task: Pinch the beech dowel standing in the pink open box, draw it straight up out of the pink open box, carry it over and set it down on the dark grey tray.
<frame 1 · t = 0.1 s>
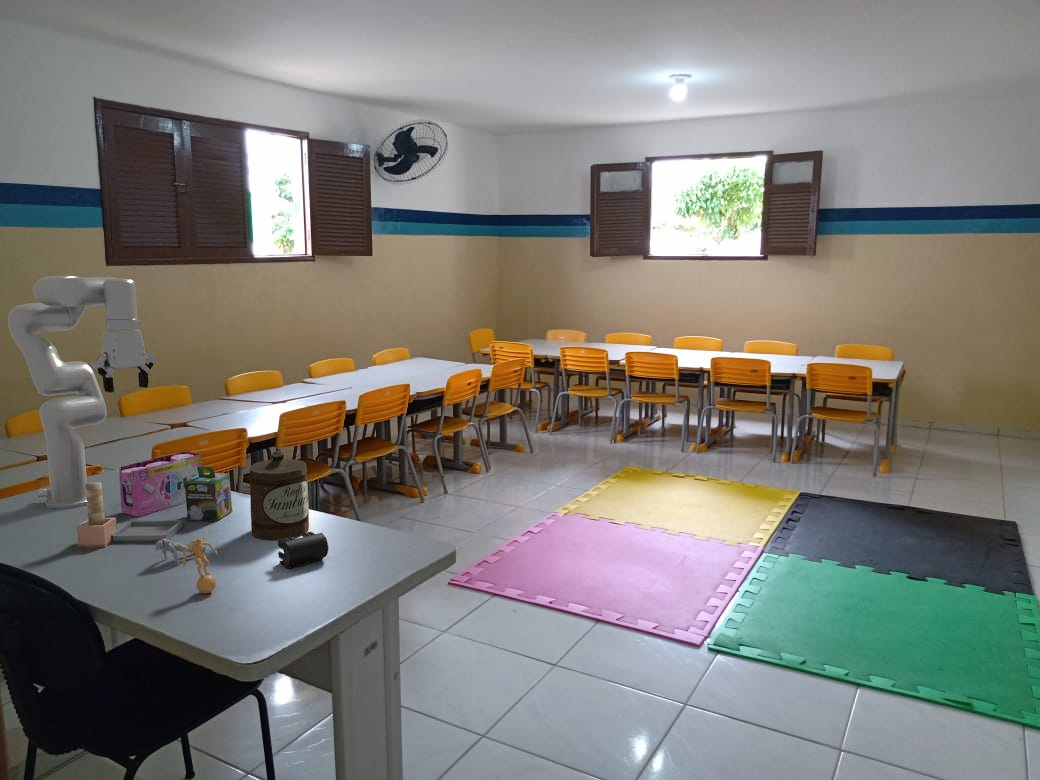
hand: (126, 389, 208), 37 cm above the table, tool pointing down, fingers open, 9 cm apart
end cap: (303, 564, 187), on the table
soldier figurine: (181, 560, 188), on the table
gum box: (164, 505, 231), on the table
tray: (148, 534, 205), on the table
wooden container: (280, 531, 209), on the table
dowel: (98, 540, 199), point 1 cm above the table, touching pink open box
chalk box: (209, 516, 221), on the table
figurine: (203, 592, 170), on the table
pink open box: (98, 542, 199), on the table
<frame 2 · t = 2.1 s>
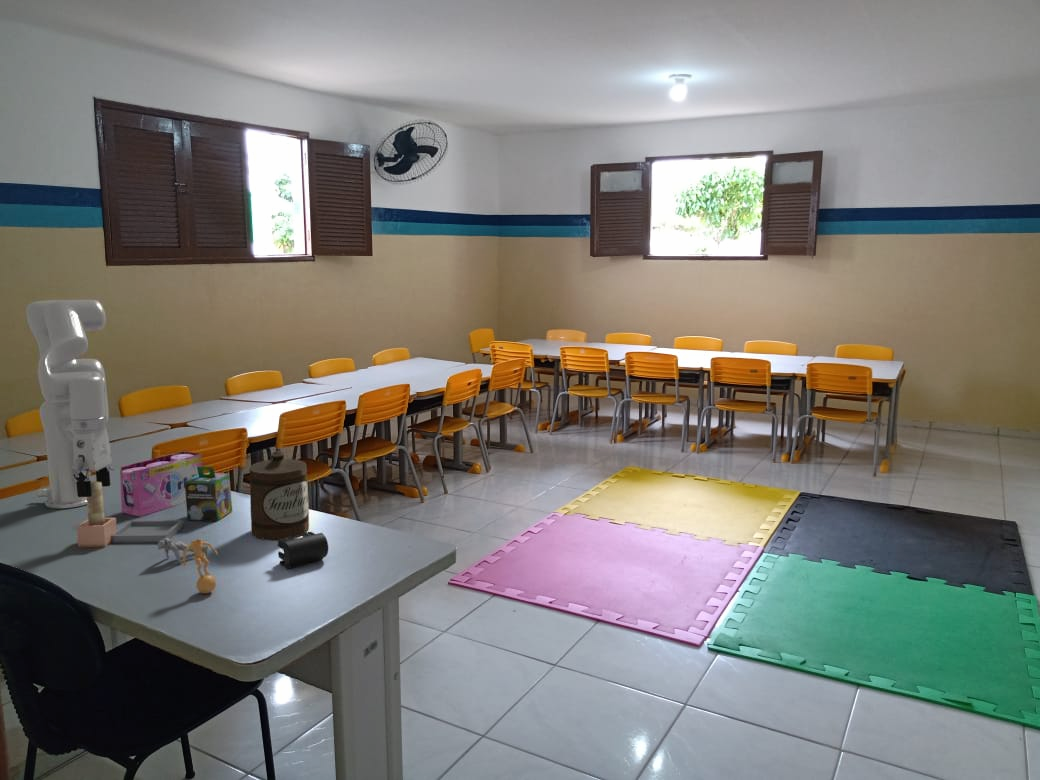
hand: (94, 491, 196), 14 cm above the table, tool pointing down, fingers open, 9 cm apart
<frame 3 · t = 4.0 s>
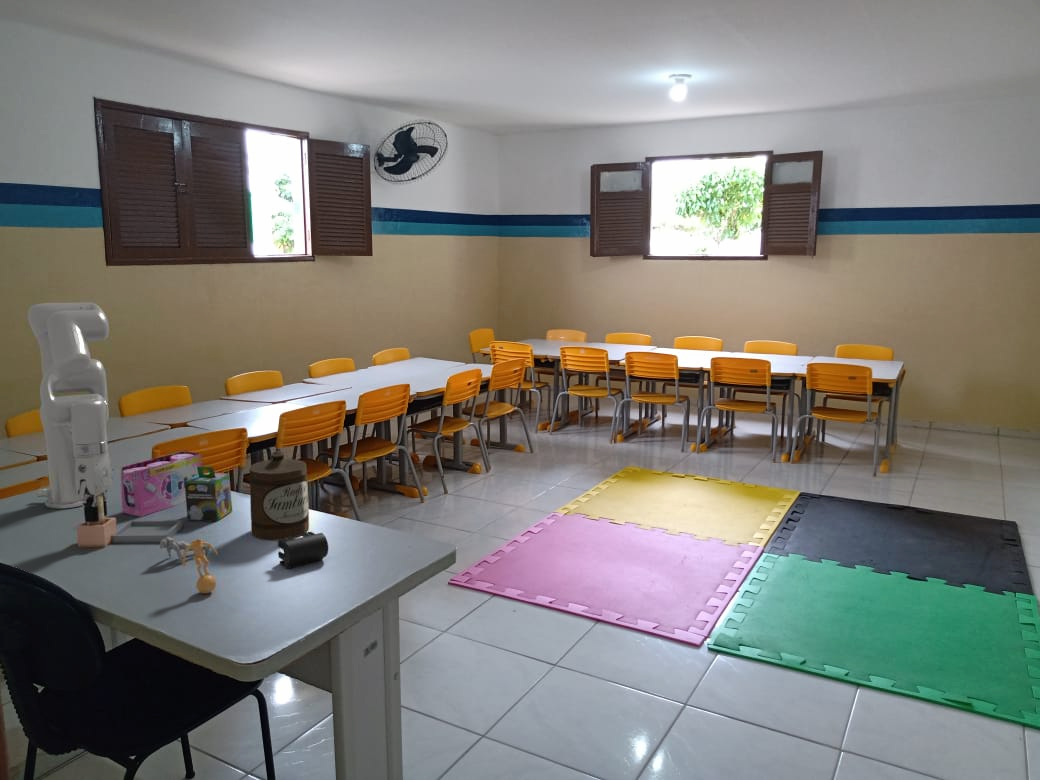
hand: (96, 517, 198), 7 cm above the table, tool pointing down, fingers closed on dowel, 3 cm apart
dowel: (98, 540, 199), point 1 cm above the table, touching pink open box, gripper
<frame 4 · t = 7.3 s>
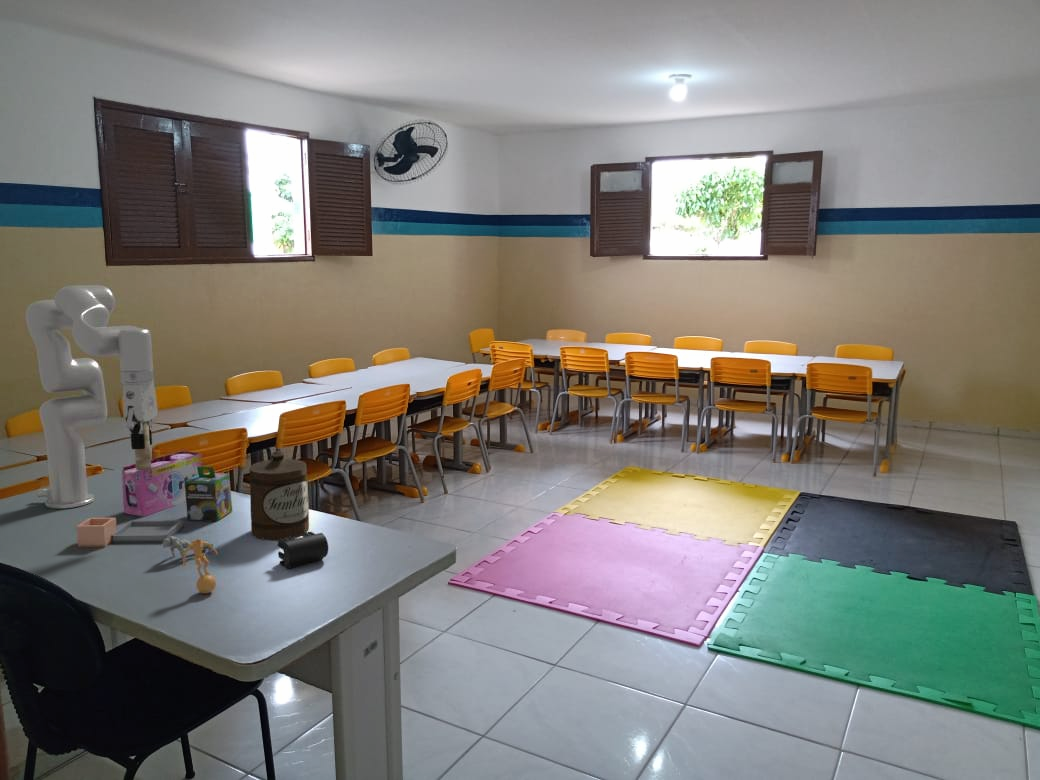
hand: (142, 446, 201), 24 cm above the table, tool pointing down, fingers closed on dowel, 3 cm apart
dowel: (143, 468, 202), point 18 cm above the table, touching gripper
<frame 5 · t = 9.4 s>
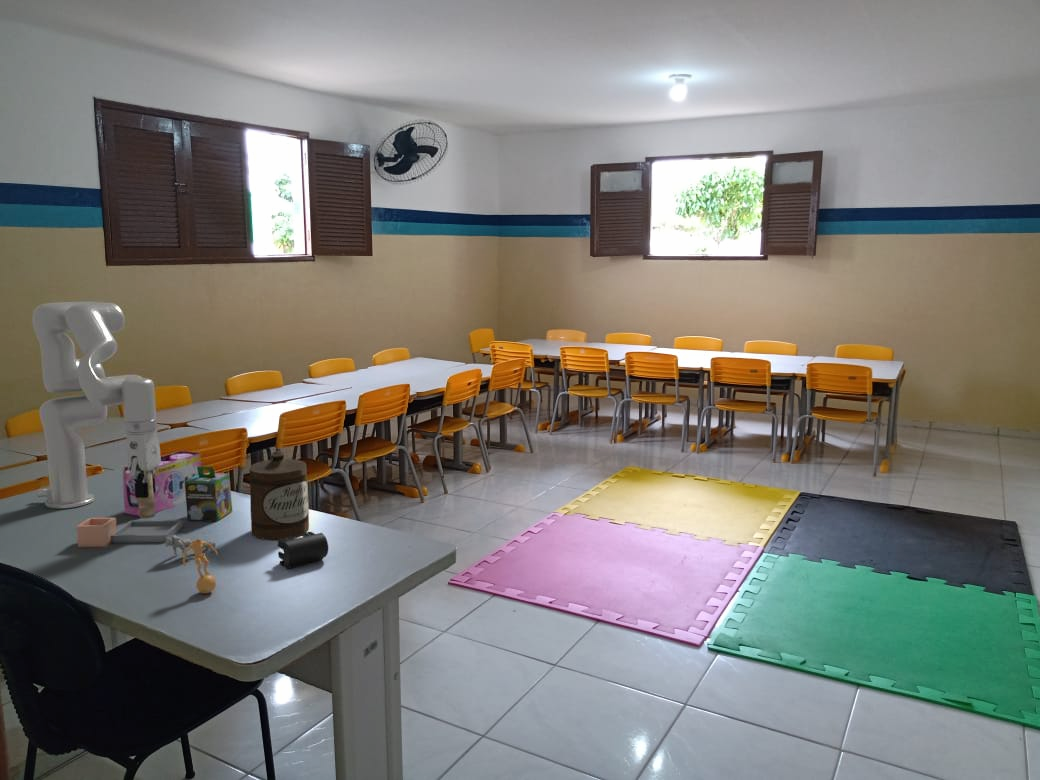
hand: (145, 494, 203), 11 cm above the table, tool pointing down, fingers closed on dowel, 3 cm apart
dowel: (147, 516, 204), point 5 cm above the table, touching gripper
when the fingers open (8 cm above the table, at t = 10.9 s): dowel stays where it is, resting on tray.
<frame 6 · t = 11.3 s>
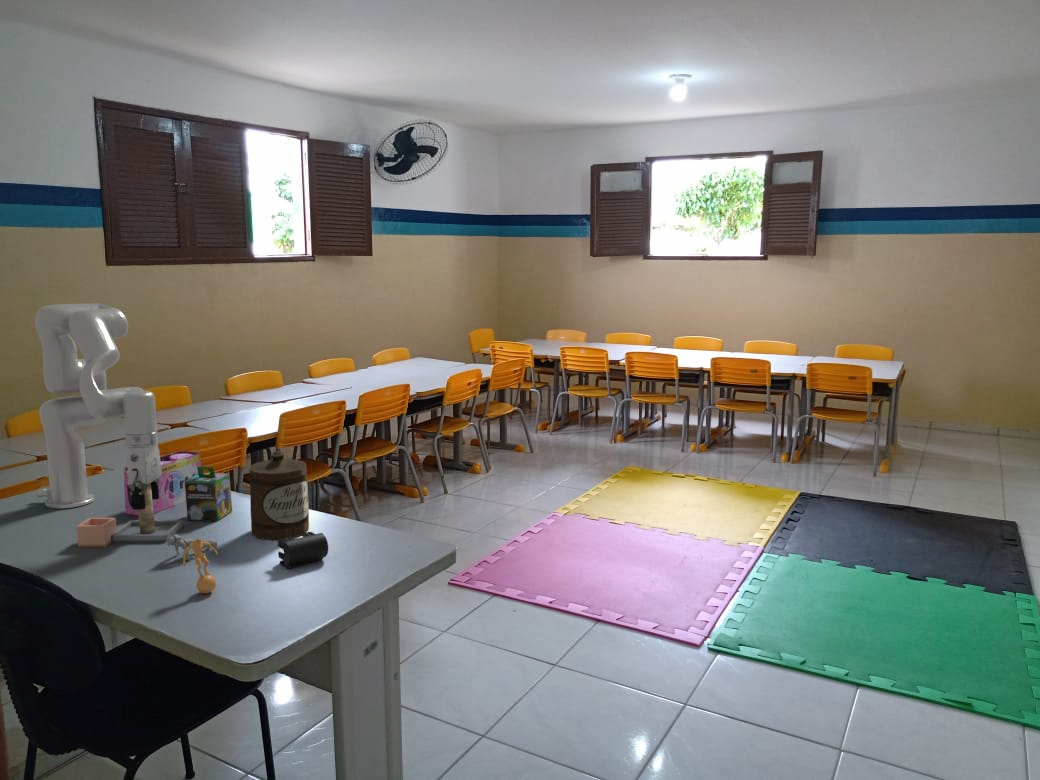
hand: (146, 503, 204), 8 cm above the table, tool pointing down, fingers open, 8 cm apart
dowel: (147, 531, 205), point 1 cm above the table, touching tray
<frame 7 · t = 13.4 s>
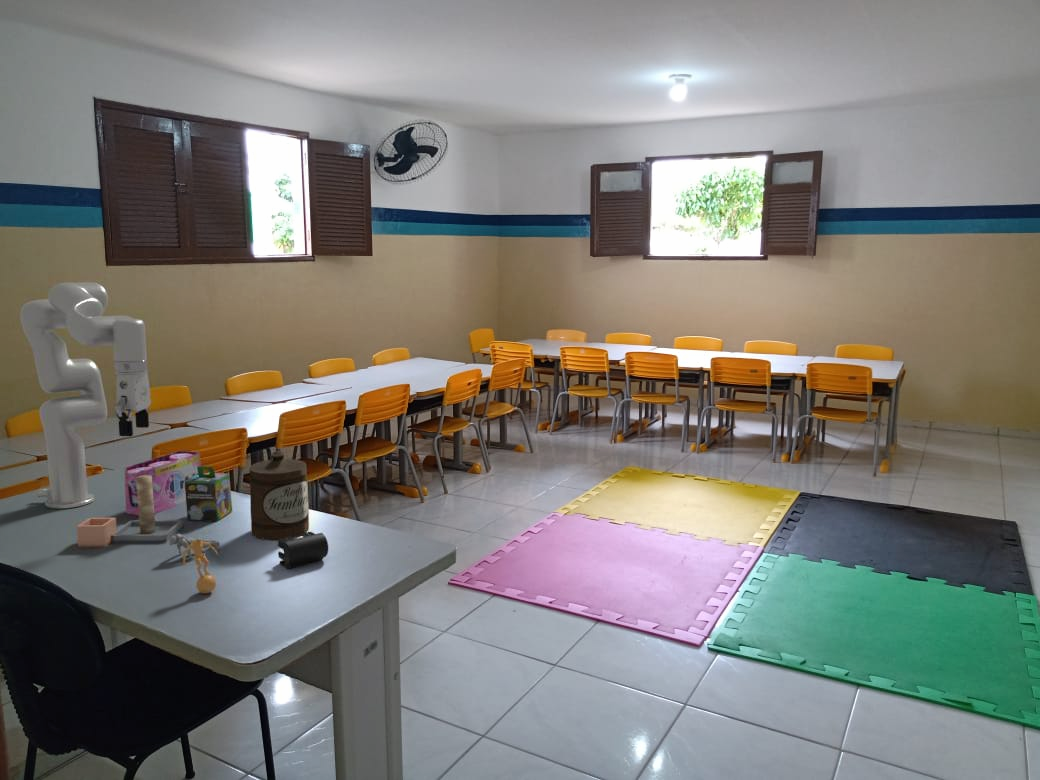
hand: (134, 431, 203), 27 cm above the table, tool pointing down, fingers open, 9 cm apart
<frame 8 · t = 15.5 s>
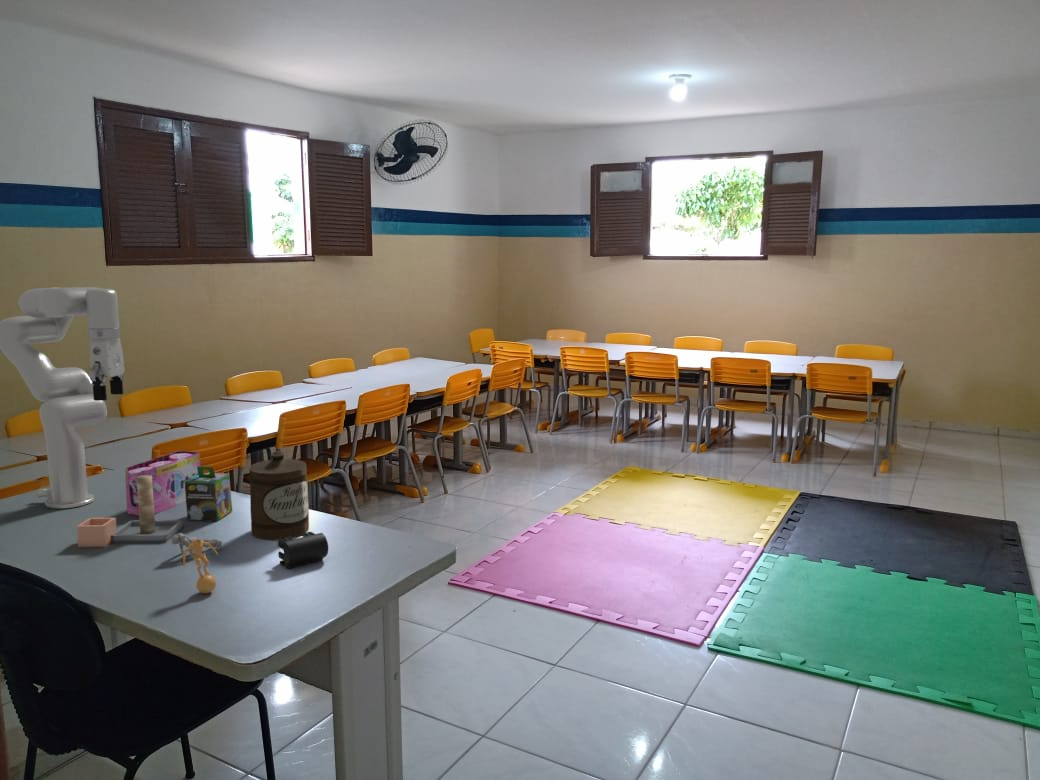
hand: (108, 397, 213), 34 cm above the table, tool pointing down, fingers open, 9 cm apart
at the end: dowel inside the target area on the tray (0.0 cm from its centre), point 0.6 cm above the tray's base; the gripper is holding nothing; dowel touching tray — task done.
